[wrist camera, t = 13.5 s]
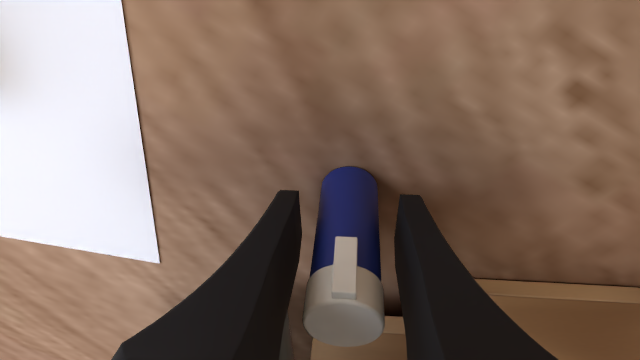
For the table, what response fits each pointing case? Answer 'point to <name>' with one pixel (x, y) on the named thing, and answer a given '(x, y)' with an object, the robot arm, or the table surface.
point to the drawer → (378, 356)
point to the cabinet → (573, 317)
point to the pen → (346, 263)
